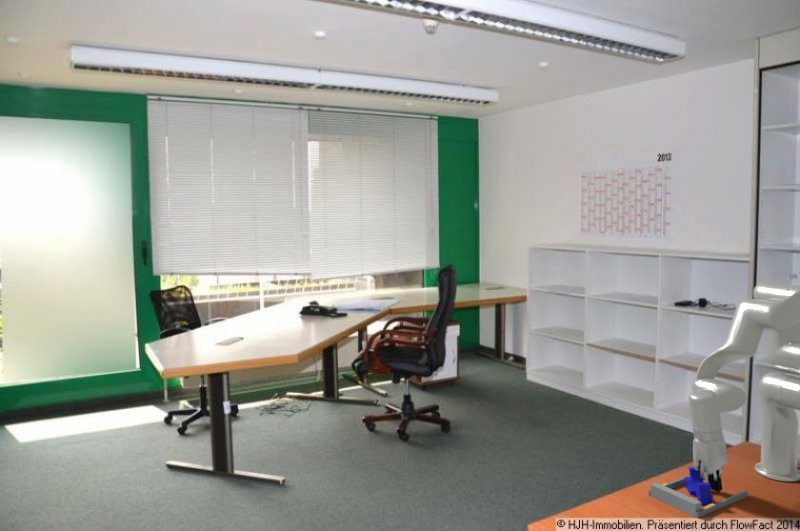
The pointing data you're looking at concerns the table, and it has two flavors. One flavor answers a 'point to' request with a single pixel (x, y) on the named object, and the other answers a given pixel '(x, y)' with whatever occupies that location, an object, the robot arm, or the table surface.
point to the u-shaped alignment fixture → (689, 499)
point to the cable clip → (698, 487)
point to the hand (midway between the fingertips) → (715, 489)
